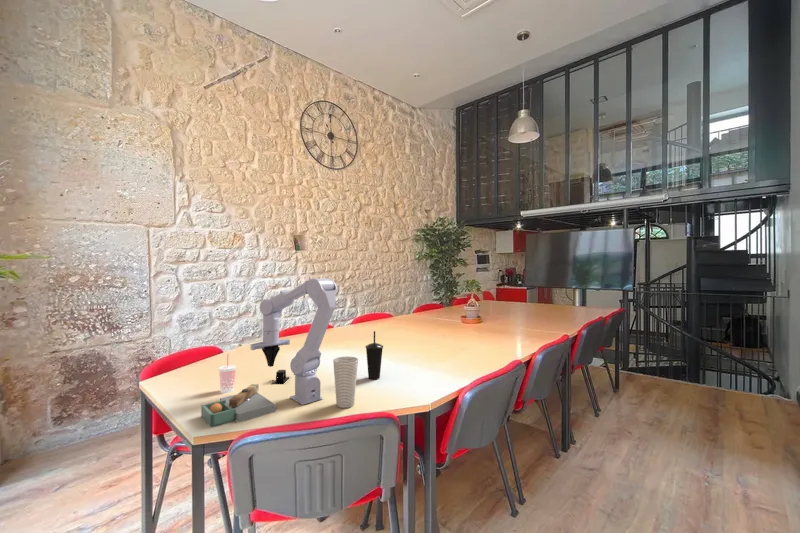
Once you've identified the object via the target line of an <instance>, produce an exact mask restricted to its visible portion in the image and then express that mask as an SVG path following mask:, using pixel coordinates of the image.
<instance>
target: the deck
mask: <svg viewBox="0 0 800 533" xmlns="http://www.w3.org/2000/svg"><path fill="white" fill-rule="evenodd" d="M235 395H236V394H234V395H229V396H225V397H221V398H219V401H221V400H226V404H227V405H228V406H229V399H231V398H232V397H234V396H235ZM229 407H230V408H231V409H234V408H236V420H235V421H236V422H237V423H240V422H243V421H247V420H248V421H249V420H251V419H255V418H258V417H261V416H264V415H269V414H271V413H274V412H276V403H274V402H273V401H271V400H270V399H268V398H267V397H265V396H264V395H262V394H261V393H259V392H256V393H255V394H253V395H252V396H251V397H250V400H247V401H244V402H242V403H241V404H240V405H238V406H237V407H232V406H229Z"/></svg>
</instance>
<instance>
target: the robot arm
mask: <svg viewBox="0 0 800 533" xmlns="http://www.w3.org/2000/svg"><path fill="white" fill-rule="evenodd" d="M337 291H338V286H337V284H336V282H335V281H334V279H333V278H330V277H327V278H314V277H313V278H310V279H308V280H305V281H304V282H303V283H302V284H299V285H298V286H297V287H295V288H293V289H291V290H290V291H289V290H280V291H279V293H278V294H276V295H272V296H271V298H270V299H269V298H268V299H267V298H264V299H262V301H261V302H260V304H259V311H260V313H261V314H262V341H261V342H255V343H251V344H250V350H251V351H255V350H262V352H263V355H264V357H265V360H266V363H267V367H269V368H271V367H274V365H275V361H276V358H277V355H278V353H279V352H280V350H281V348H280V347H281V346H288V345H290V344H291V343H290V342H291V339H288V338H284V339H280V336H279V334H280V333H279V331H280V317H281V313H282V311H283V309H285V308H288V307H290V306H291V305H293V304H294V302H295V300H296V299H298V298H301V297H303V296H305V295H308V296H309V298H310V299H311V301H312V302H313V303H314V304H315V305H316V307H317V310H316V312H315V315H314V318H313V320H312V322H311V325H310V328H309V331H308V332H307V336H306V338H305V341H304V344H303V346H302V347H301V348H300V349H298V351H297V352H296V354H295V356H294V357H293V358H292V359H291V361H290V365H289V367H290V370H291V372H292V373H293V376H294V395H293V394H292V395H290V396H289V397H290V399H292V400H293V401H296V402H297V403H299V404H301V405H307V404H310V403H313V402H316V401H321V400H323V397H322V396H321V380H320V379H319V377H318V376H317V371H318V368H319V367H320V365H321V356H322V353H321V350H320V348H321V345H322V342H323V340H324V337H325V334H326V333H327V329H328V327H329V325H330V320H331V319H332V317H333V314H334V311H335V308H336V294H337Z"/></svg>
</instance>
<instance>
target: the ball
mask: <svg viewBox="0 0 800 533" xmlns="http://www.w3.org/2000/svg"><path fill="white" fill-rule="evenodd" d="M210 411H211V412H212V413H213V414H215V413H219V412H221V411H222V406H221V404H219V403H215V404H213V405H212V406H211V407H210Z"/></svg>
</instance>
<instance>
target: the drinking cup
mask: <svg viewBox="0 0 800 533" xmlns="http://www.w3.org/2000/svg"><path fill="white" fill-rule="evenodd" d="M365 349H366V350H365V351H366V364H367V374H368V375H367V376H368V379H369V380H372V381H373V380H379V379H380V378H381V370H382V369H381V368H382V358H383V357H382V356H383V349H384V345H382V344H380V343H377V342H376V331H373V342H371V343H368V344H366V345H365Z"/></svg>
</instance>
